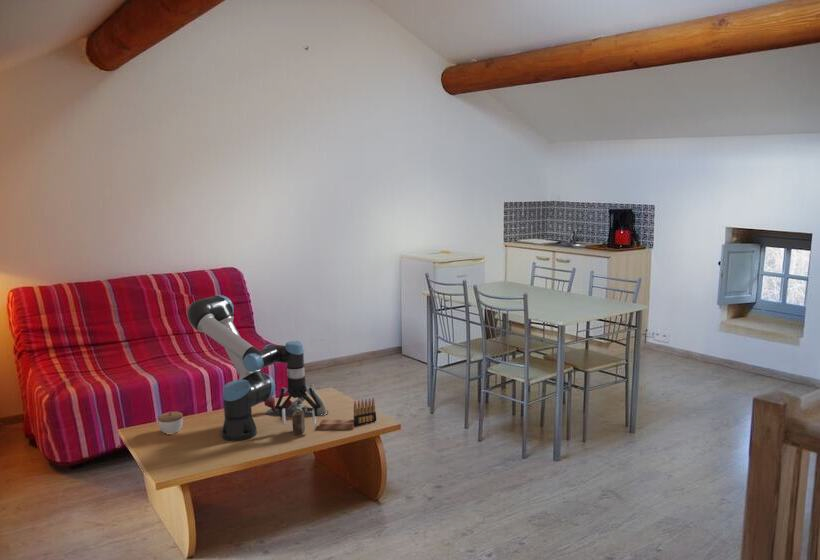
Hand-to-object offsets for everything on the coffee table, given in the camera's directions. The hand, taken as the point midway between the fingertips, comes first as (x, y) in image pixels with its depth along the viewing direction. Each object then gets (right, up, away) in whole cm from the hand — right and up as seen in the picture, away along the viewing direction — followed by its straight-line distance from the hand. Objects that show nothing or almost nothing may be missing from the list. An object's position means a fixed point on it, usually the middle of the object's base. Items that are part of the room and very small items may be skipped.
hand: (299, 423), depth 314 cm
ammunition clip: (+28, -3, +10) cm, 30 cm away
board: (+16, -3, +6) cm, 17 cm away
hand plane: (-6, -1, +26) cm, 27 cm away
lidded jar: (-58, -5, +5) cm, 59 cm away
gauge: (0, -4, +3) cm, 5 cm away
